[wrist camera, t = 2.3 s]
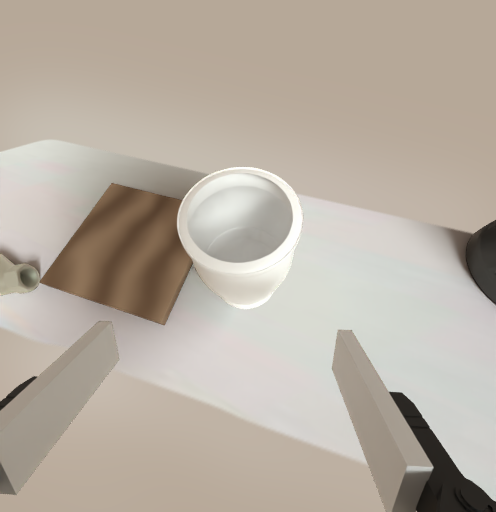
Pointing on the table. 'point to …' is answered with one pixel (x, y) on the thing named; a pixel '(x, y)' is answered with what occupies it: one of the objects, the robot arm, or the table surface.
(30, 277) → the pipe fitting
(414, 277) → the table surface
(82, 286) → the walnut board
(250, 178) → the jar
